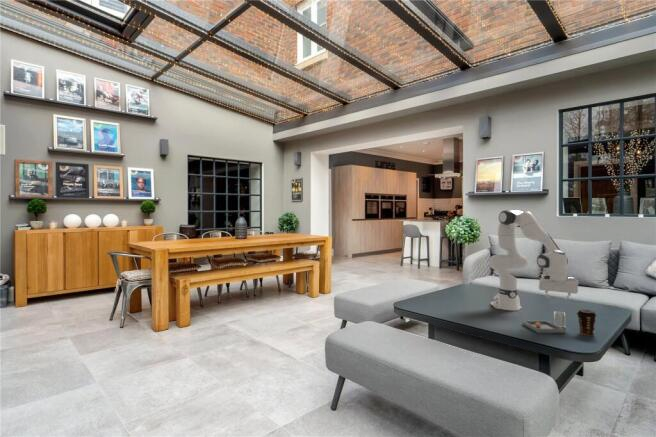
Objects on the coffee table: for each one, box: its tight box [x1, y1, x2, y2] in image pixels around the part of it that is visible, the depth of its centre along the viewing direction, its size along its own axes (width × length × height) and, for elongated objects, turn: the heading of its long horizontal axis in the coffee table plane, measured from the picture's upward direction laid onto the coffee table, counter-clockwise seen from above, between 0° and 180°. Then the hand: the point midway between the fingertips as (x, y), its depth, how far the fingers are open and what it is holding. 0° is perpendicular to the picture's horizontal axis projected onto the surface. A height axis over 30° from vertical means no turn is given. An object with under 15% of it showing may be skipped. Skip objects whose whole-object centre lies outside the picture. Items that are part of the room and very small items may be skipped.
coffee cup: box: [576, 309, 597, 336], centre depth 197 cm, size 9×8×13 cm
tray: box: [522, 320, 566, 335], centre depth 205 cm, size 16×15×2 cm
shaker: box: [553, 310, 567, 329], centre depth 211 cm, size 6×5×8 cm
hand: (557, 298), depth 214 cm, fingers open, 8 cm apart
